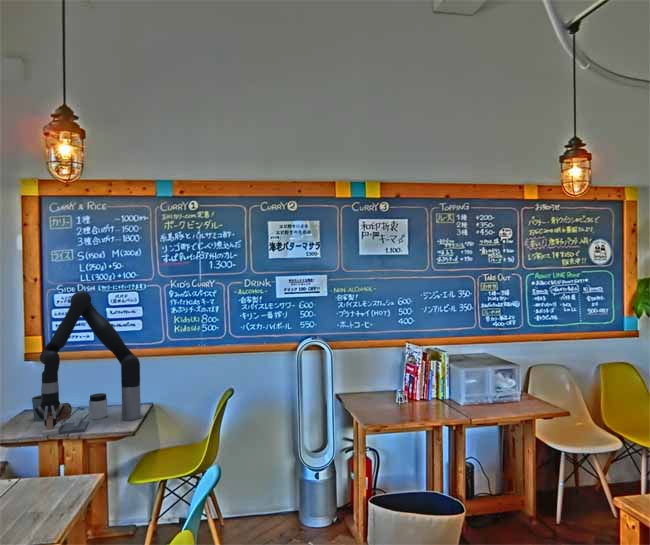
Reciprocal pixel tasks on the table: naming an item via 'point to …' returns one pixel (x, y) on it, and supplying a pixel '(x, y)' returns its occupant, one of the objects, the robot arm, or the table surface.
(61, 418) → the tin
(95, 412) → the jar
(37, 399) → the blue pot
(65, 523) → the table surface
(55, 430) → the white plate with block
